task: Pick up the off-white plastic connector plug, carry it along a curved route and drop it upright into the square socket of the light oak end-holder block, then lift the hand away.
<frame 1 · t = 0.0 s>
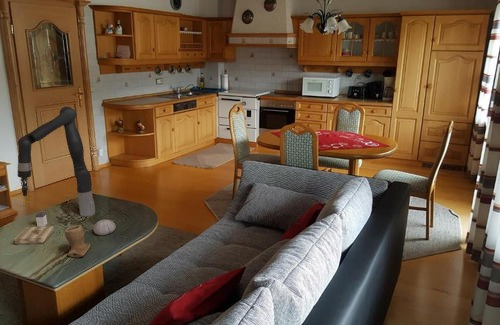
hand: (24, 193, 259), 22 cm above the table, fingers open, 8 cm apart
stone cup: (77, 252, 231), on the table
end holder: (35, 238, 248), on the table
sea urchin shell: (104, 232, 257), on the table
connector plug: (42, 224, 267), on the table
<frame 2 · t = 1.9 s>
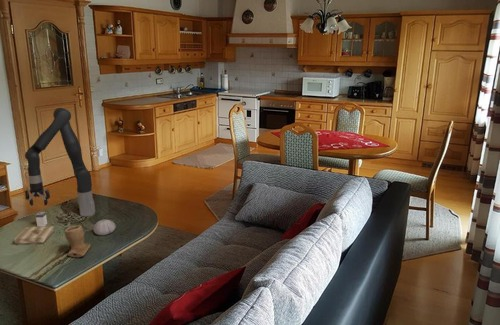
hand: (39, 205, 263), 14 cm above the table, fingers open, 8 cm apart
nothing on the table moved.
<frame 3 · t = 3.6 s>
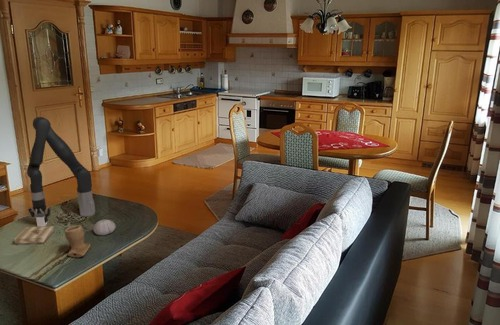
hand: (41, 222, 267), 2 cm above the table, fingers closed on connector plug, 4 cm apart
connector plug: (42, 224, 267), on the table, touching gripper
everything else where it was.
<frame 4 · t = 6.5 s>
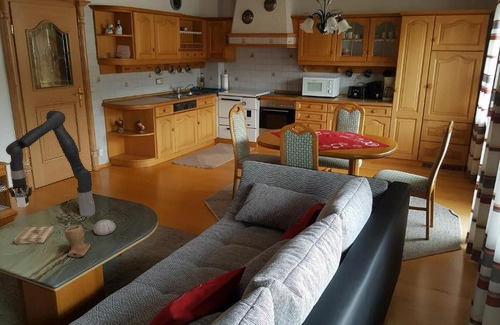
hand: (22, 202, 252), 20 cm above the table, fingers closed on connector plug, 4 cm apart
connector plug: (23, 205, 252), point 18 cm above the table, touching gripper
everything else where it was.
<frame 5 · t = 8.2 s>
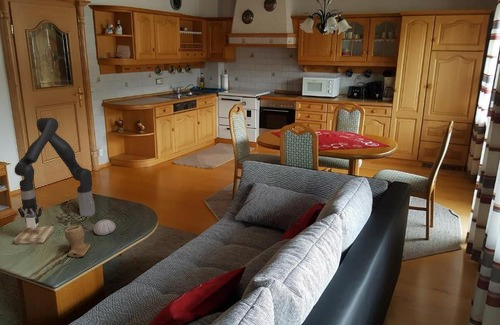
hand: (32, 223, 245), 10 cm above the table, fingers closed on connector plug, 4 cm apart
connector plug: (32, 226, 246), point 8 cm above the table, touching gripper
everything else where it was.
when the fingers open (5 cm above the table, at t = 9.6 s): connector plug drops 2 cm, resting on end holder.
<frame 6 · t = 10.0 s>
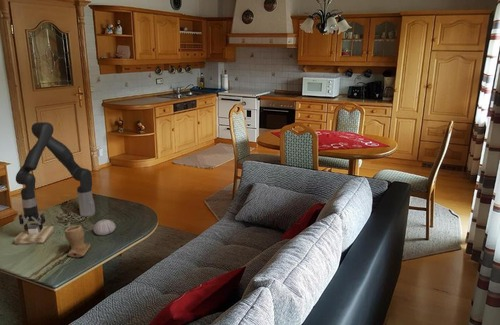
hand: (33, 230, 247), 6 cm above the table, fingers open, 8 cm apart
connector plug: (35, 236, 248), point 1 cm above the table, touching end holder
everything else where it was.
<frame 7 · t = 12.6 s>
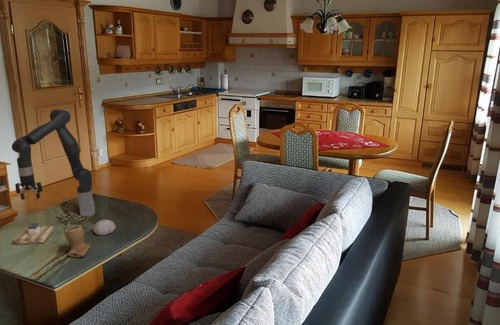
hand: (30, 199, 247), 24 cm above the table, fingers open, 8 cm apart
nothing on the table moved.
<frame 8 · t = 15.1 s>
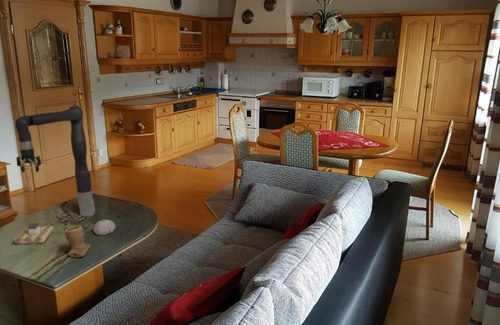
hand: (30, 171, 265), 34 cm above the table, fingers open, 8 cm apart
nothing on the table moved.
at the end: connector plug 0.2 cm off-centre on the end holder, point 1.0 cm above the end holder's base; connector plug tilted 0°; the gripper is holding nothing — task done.
